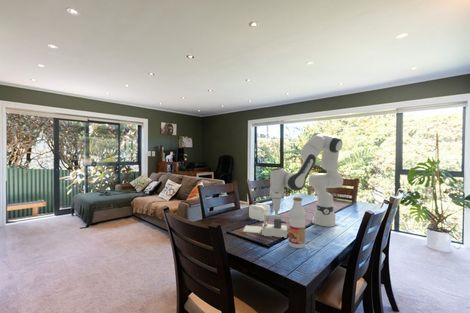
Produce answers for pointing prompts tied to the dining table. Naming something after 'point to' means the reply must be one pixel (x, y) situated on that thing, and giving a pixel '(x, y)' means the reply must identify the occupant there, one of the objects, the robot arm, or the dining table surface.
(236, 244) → the dining table surface
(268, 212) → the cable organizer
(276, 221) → the plug
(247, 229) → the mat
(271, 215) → the clip
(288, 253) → the dining table surface
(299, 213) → the fruit juice
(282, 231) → the power strip
